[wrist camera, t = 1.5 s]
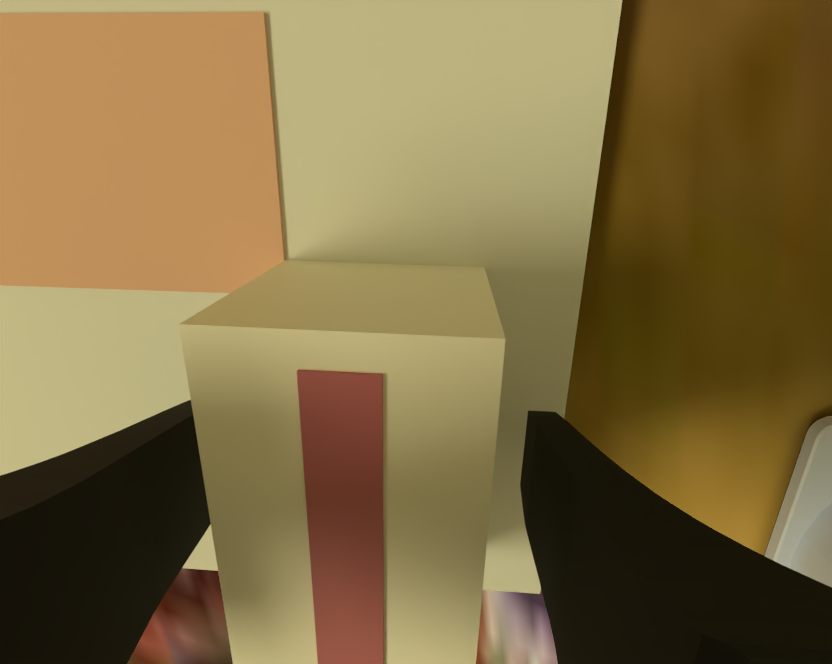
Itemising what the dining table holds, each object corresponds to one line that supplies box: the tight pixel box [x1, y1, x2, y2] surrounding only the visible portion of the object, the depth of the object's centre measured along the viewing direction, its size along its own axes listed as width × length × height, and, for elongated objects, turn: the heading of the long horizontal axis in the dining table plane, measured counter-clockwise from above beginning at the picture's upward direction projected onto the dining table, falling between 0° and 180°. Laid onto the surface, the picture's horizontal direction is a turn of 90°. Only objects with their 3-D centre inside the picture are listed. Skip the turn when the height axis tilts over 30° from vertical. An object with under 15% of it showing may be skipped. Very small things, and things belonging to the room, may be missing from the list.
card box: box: [179, 260, 506, 664], centre depth 10 cm, size 4×8×5 cm, turn 179°
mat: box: [0, 0, 622, 594], centre depth 12 cm, size 16×16×1 cm
